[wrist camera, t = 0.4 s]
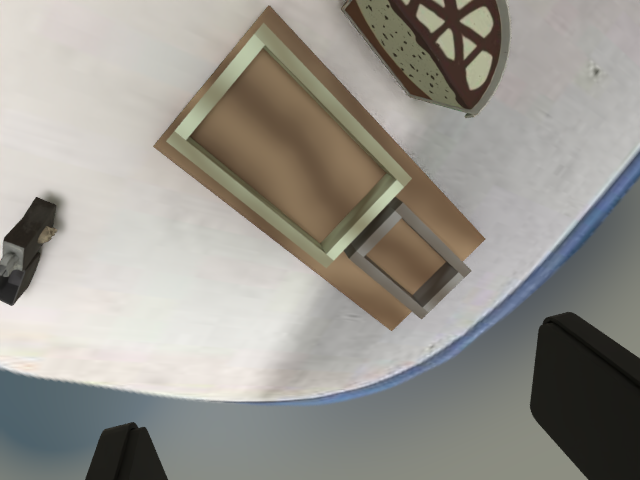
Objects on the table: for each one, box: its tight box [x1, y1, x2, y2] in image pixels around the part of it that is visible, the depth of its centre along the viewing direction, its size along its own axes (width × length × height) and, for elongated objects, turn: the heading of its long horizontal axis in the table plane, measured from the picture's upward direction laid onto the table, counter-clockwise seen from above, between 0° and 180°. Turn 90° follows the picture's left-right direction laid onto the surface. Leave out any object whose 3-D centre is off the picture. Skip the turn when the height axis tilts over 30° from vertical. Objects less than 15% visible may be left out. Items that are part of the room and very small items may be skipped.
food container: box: [341, 0, 511, 118], centre depth 29 cm, size 12×6×10 cm, turn 44°
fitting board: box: [153, 6, 485, 331], centre depth 37 cm, size 14×30×4 cm, turn 46°
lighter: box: [0, 197, 57, 306], centre depth 32 cm, size 9×2×6 cm
